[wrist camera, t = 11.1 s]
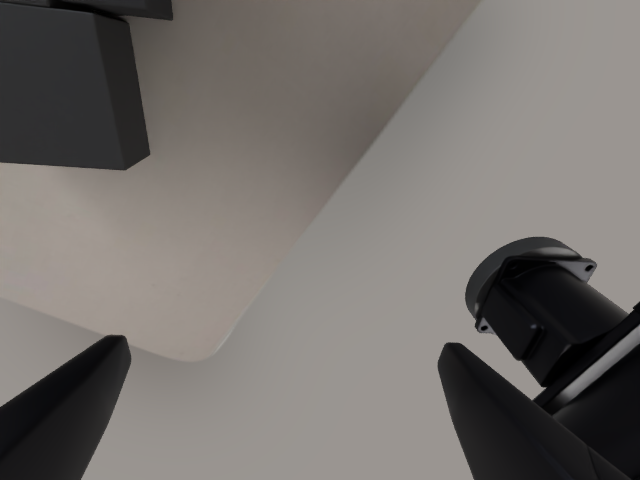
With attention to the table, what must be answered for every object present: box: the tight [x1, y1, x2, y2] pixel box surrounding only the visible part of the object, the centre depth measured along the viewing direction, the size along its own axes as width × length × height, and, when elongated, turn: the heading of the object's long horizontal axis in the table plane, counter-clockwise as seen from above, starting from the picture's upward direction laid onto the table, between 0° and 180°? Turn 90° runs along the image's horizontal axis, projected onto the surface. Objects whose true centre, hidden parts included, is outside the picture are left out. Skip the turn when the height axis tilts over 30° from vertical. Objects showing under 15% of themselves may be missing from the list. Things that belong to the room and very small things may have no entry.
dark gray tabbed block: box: [0, 0, 150, 170], centre depth 13 cm, size 6×9×3 cm
